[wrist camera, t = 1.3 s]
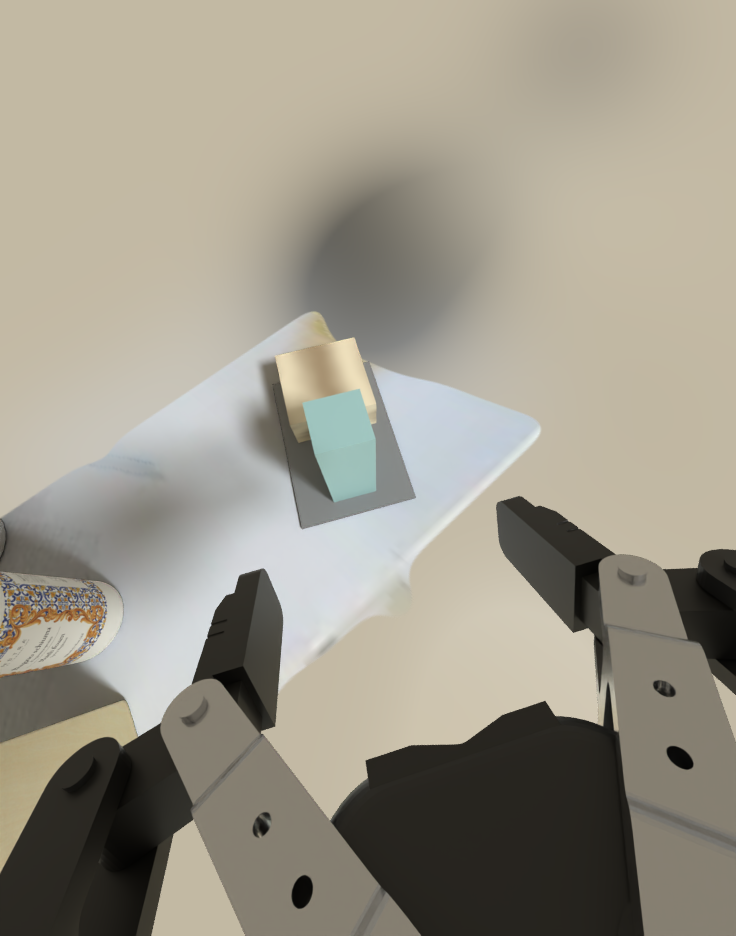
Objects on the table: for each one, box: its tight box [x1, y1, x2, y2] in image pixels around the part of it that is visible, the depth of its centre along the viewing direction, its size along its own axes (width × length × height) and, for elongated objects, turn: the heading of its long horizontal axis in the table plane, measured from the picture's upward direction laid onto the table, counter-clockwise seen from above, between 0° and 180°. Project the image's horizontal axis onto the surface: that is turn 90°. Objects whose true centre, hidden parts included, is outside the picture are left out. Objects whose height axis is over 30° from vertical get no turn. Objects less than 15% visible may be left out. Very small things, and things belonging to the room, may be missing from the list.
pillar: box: [302, 389, 376, 502], centre depth 31 cm, size 4×4×12 cm
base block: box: [275, 338, 376, 443], centre depth 39 cm, size 9×9×4 cm
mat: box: [273, 362, 416, 529], centre depth 39 cm, size 12×18×1 cm, turn 15°
